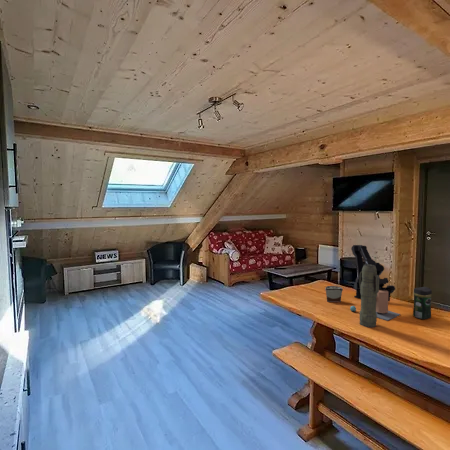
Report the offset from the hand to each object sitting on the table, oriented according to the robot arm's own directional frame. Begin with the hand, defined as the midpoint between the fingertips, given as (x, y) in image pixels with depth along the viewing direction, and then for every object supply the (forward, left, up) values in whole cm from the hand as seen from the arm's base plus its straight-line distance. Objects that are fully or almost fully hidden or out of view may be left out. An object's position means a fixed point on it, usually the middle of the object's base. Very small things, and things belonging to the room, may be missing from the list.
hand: (382, 301), depth 188 cm
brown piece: (-1, -1, -7) cm, 7 cm away
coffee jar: (-16, +16, -9) cm, 24 cm away
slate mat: (-1, -1, -9) cm, 9 cm away
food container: (+1, -35, -9) cm, 36 cm away
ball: (+9, -14, -9) cm, 19 cm away
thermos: (+21, +3, -9) cm, 23 cm away
